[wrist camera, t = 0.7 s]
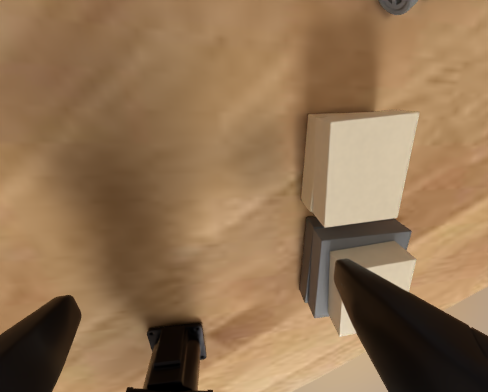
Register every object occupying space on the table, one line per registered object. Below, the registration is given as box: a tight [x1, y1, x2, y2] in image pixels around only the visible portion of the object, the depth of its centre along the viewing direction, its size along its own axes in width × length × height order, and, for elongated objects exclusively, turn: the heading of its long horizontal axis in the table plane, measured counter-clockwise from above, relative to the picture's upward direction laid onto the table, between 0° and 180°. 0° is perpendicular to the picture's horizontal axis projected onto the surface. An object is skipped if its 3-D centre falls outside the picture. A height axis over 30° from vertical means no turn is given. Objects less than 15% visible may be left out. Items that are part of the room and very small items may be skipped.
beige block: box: [301, 110, 419, 228], centre depth 19 cm, size 8×6×5 cm
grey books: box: [299, 217, 412, 318], centre depth 24 cm, size 10×9×4 cm
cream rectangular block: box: [328, 241, 416, 336], centre depth 21 cm, size 8×6×3 cm
